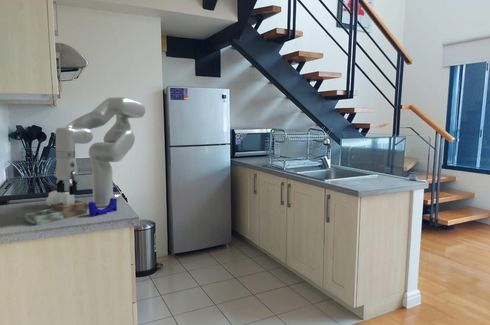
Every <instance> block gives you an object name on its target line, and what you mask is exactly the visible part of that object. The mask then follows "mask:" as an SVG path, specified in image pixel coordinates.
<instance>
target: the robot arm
mask: <svg viewBox="0 0 490 325" xmlns="http://www.w3.org/2000/svg"><path fill="white" fill-rule="evenodd" d="M145 114H146V107H145V105H144V104H143V103H142V102H141V101H137V100H134V99H130V98H127V97H122V96H121V97H116V96H115V97H107V98H106V99H105V100H103V101H102V102H101V103H100V104H99V105H98V106H96V107H95V108H94V109H92V111H90V112H88V113H85V114H84V115H82V116H79V117H77V118H75V119H73V120H72V121H71V122H69V123H68V124H67V125H66V126H65V127H57V128H56V129H55V154H56V155H55V157H56V163H55V165H56V167H55V173H54V177H55V178H54V179H55V181H56V182H55V184H56V191H57V192H61V193H64V192H66V191H65V183H64V182H68V184H69V186H68V187H69V188H68V189H69V190H68V192H69V195H74V196H75V195H77V194H78V189H77V188H78V183H79V179H80V178H79V176H80V175H79V173H78V172H79V171H78V163H77V159H76V144H81V145H84V144H88V143H90V142H91V141H92V140H93V138H94V133H93V132H92V131H91V130H92V129H96V128H99V127H100V128H101V127H103V126H104V125H106V124H107V123H109V121H110V120H112V118H113V117H116V118H115V119H116V121H115V123H114V124H113V125H112V126H111V127H110V129H109V130H108V131H107V132H106V133H105V134H104V136H103V141H102V142H101V141H100V142H99V141H98V142H94V143H92V144H91V145H90V147H89V149H88V156H89V160H90V164H91V180H92V181H91V182H92V201H91V202H95V204H96V207H97V208H106V207H107V206H108V204H109V202H110V198H116V199H119V198H122V194H121V193H118V194H114V188H113V187H114V183H113V180H114V179H113V168H112V165H111V163H118V162H120V161H121V160H123V159H124V157H125V156H126V155H127V154H128V153H129V151H130V150H131V148H132V147H133V146H134V144H135V138H136V137H135V134H134V132H133V131H132V128H131V127H132V126H131V124H130V119H138V118H139V119H140V118H143V117H144V116H145Z"/></svg>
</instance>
